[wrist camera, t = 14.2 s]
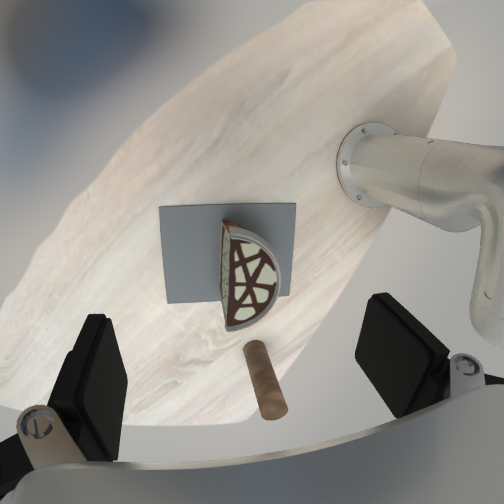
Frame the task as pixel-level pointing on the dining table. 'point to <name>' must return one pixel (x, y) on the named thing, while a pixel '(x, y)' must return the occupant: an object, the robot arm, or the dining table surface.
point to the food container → (246, 276)
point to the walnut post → (264, 381)
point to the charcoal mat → (218, 244)
